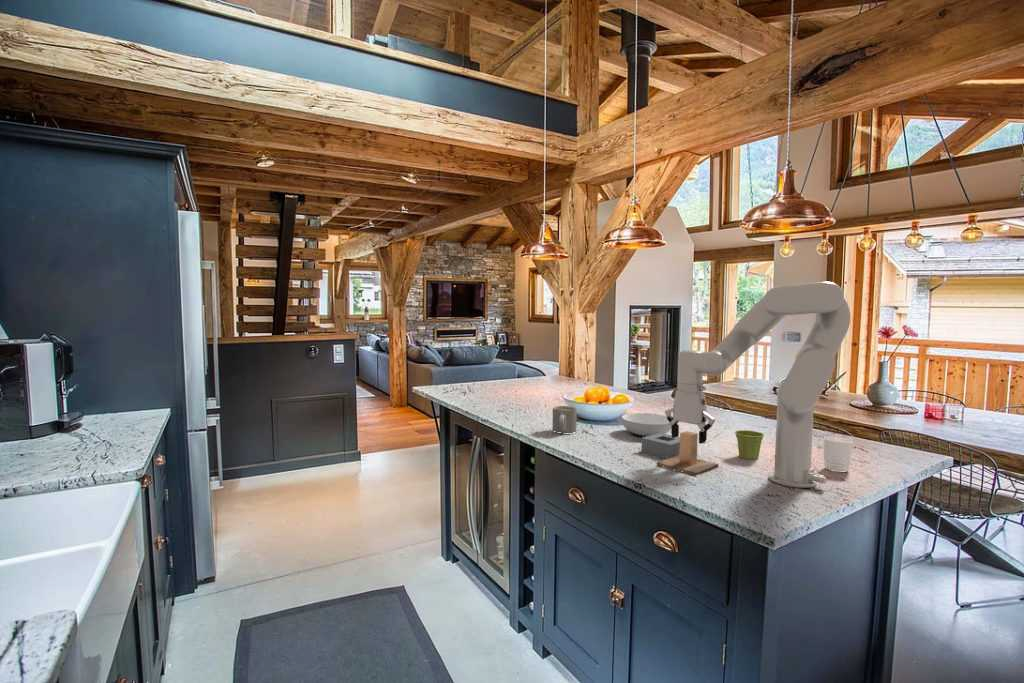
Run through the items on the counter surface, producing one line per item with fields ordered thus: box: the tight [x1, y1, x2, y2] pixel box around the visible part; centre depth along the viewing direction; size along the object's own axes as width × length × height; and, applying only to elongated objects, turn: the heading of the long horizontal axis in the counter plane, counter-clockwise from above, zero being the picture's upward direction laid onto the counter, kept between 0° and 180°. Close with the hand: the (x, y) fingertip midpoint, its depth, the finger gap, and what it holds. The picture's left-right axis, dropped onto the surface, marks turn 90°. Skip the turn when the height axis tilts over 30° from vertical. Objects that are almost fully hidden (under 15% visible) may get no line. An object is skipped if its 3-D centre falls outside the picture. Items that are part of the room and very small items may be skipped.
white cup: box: [823, 435, 853, 471], centre depth 164 cm, size 8×8×10 cm
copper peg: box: [679, 431, 699, 466], centre depth 166 cm, size 4×4×10 cm
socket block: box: [641, 433, 680, 459], centre depth 182 cm, size 12×12×5 cm
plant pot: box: [734, 429, 765, 460], centre depth 177 cm, size 9×9×9 cm
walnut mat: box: [656, 455, 719, 476], centre depth 166 cm, size 14×14×1 cm
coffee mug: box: [552, 405, 577, 433], centre depth 211 cm, size 13×10×10 cm
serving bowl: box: [621, 412, 672, 437], centre depth 209 cm, size 21×21×7 cm
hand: (688, 439), depth 166 cm, fingers open, 9 cm apart
